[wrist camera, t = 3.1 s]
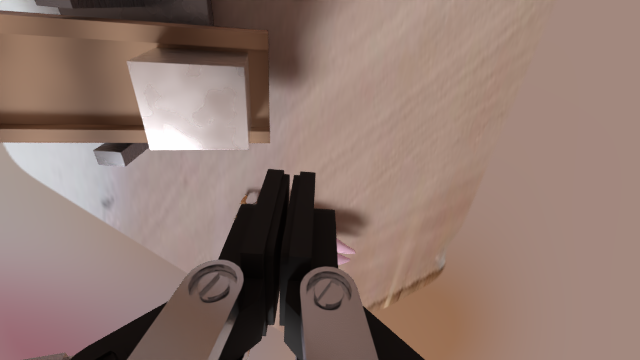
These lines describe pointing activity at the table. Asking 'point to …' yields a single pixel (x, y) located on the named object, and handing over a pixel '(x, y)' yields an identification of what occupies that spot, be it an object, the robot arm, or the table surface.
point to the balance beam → (101, 75)
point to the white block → (193, 98)
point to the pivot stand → (139, 5)
